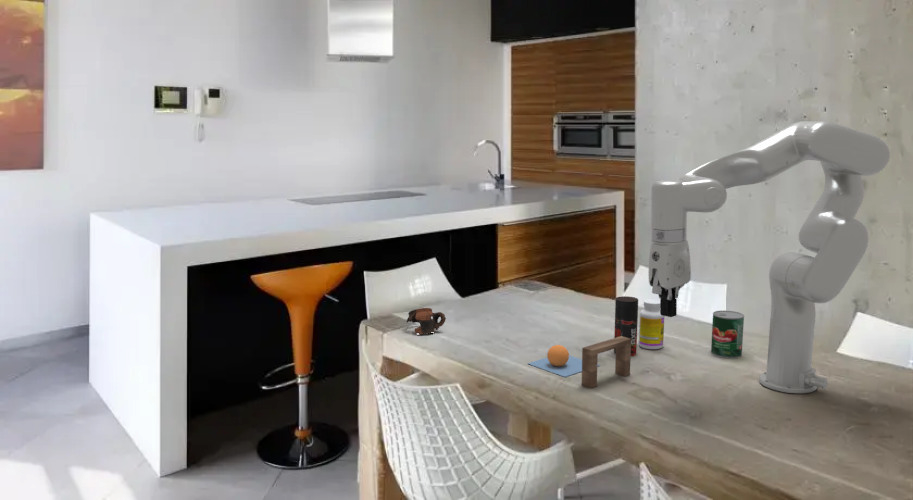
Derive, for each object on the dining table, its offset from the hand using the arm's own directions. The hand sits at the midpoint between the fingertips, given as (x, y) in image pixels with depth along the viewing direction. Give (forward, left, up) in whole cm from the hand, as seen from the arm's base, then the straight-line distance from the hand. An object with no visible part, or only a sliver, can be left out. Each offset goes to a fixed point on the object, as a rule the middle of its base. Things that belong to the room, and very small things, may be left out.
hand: (668, 315), depth 167 cm
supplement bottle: (+23, -27, -19) cm, 40 cm away
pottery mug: (+76, +12, -19) cm, 79 cm away
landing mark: (+28, +3, -19) cm, 34 cm away
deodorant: (+24, -17, -19) cm, 35 cm away
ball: (+29, +5, -16) cm, 33 cm away
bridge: (+14, +3, -19) cm, 24 cm away
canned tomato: (+6, -37, -19) cm, 42 cm away
